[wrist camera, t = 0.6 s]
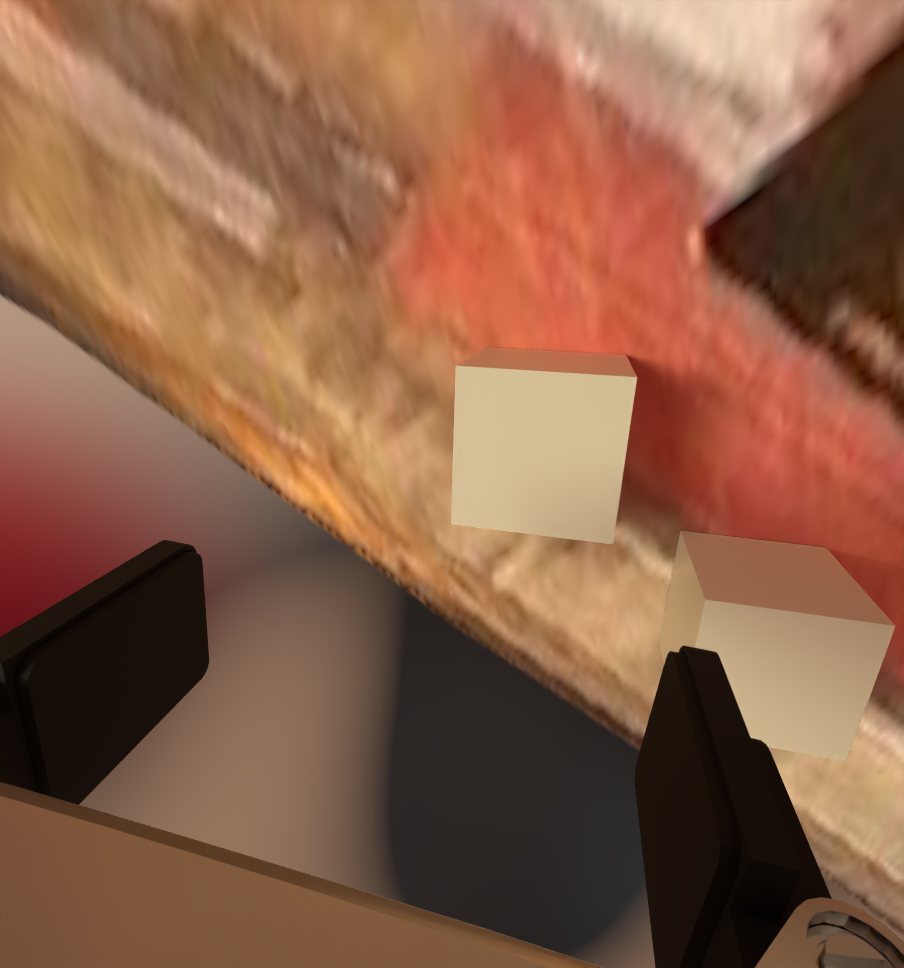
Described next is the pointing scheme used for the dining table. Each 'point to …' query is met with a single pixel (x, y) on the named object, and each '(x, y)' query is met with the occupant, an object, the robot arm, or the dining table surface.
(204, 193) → the dining table surface
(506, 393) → the cover cube
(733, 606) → the cover empty
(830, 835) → the dining table surface
